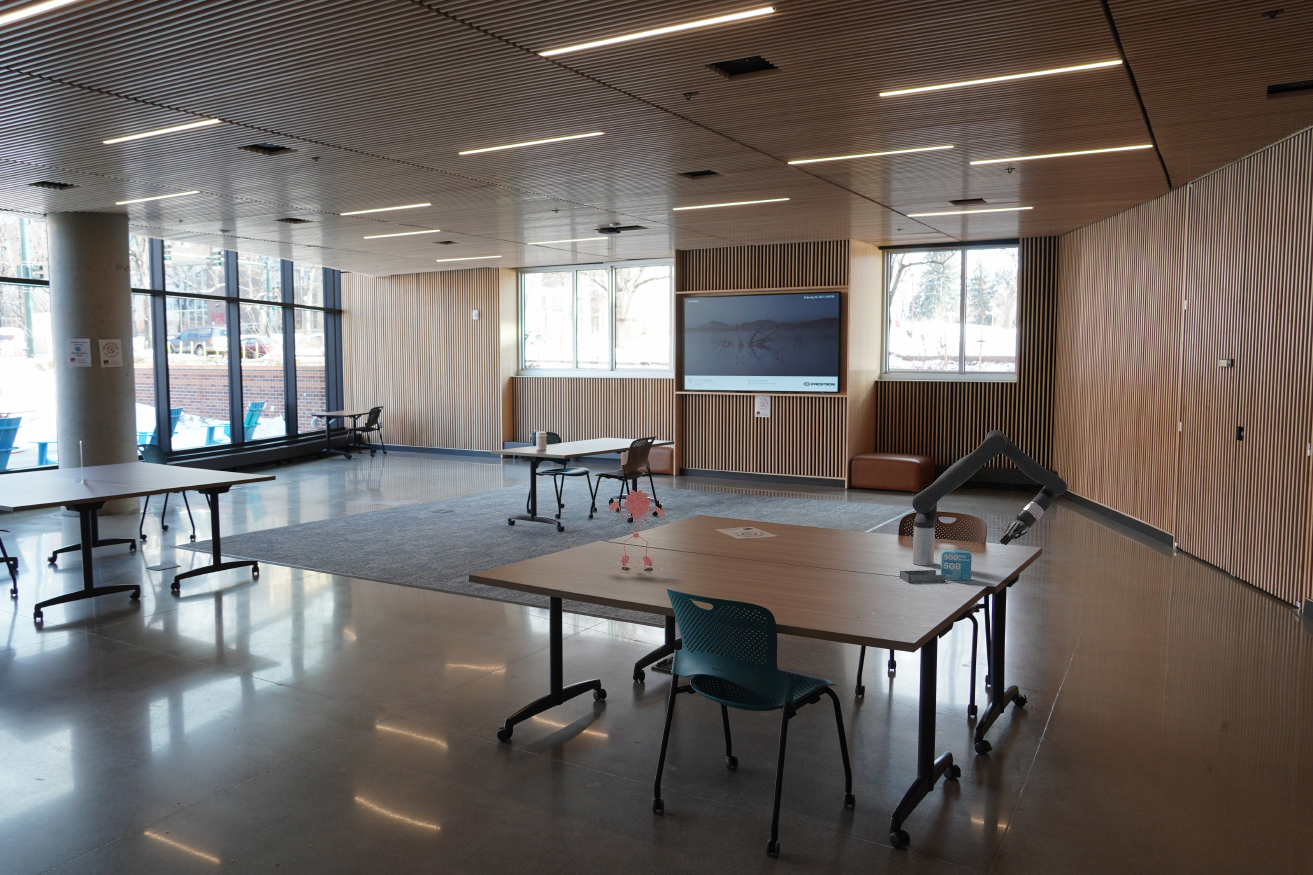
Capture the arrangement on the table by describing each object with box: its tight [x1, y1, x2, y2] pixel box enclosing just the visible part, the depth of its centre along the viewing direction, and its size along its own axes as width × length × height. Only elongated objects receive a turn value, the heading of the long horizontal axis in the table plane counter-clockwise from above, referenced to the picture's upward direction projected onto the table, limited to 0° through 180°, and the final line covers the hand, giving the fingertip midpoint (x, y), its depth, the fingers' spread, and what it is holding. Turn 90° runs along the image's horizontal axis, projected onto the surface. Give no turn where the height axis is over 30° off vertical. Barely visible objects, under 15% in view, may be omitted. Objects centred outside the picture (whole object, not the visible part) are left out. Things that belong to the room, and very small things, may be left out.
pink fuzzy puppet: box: [608, 489, 666, 571], centre depth 405 cm, size 15×26×35 cm, turn 80°
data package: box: [940, 549, 972, 581], centre depth 383 cm, size 12×4×12 cm, turn 76°
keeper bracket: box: [899, 569, 946, 584], centre depth 381 cm, size 10×16×3 cm, turn 98°
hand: (1002, 543), depth 385 cm, fingers closed
